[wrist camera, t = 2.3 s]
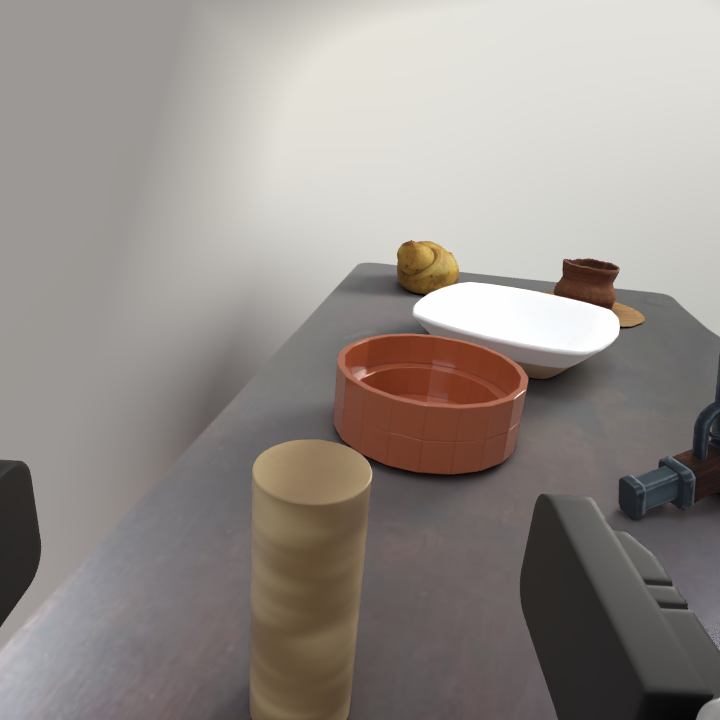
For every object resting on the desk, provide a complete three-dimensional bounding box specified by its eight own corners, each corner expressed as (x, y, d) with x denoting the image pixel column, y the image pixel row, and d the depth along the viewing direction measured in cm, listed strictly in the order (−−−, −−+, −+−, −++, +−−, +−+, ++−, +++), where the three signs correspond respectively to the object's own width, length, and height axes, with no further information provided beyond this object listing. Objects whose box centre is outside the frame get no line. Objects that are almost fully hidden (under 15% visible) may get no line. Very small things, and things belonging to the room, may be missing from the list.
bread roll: (396, 274, 102) (401, 227, 99) (454, 280, 101) (460, 232, 98) (392, 295, 90) (397, 241, 87) (457, 301, 89) (465, 247, 86)
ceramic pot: (540, 286, 102) (548, 244, 100) (652, 309, 94) (664, 264, 91) (504, 308, 88) (513, 260, 85) (634, 338, 79) (647, 285, 77)
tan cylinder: (241, 747, 25) (241, 499, 20) (258, 657, 29) (262, 435, 24) (349, 753, 25) (373, 507, 20) (350, 663, 29) (371, 442, 24)
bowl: (620, 350, 74) (630, 309, 72) (590, 415, 56) (603, 363, 54) (454, 313, 83) (460, 276, 82) (384, 359, 66) (388, 313, 64)
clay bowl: (329, 474, 44) (333, 399, 42) (336, 387, 58) (340, 328, 56) (536, 487, 44) (552, 414, 42) (493, 398, 58) (504, 339, 56)
